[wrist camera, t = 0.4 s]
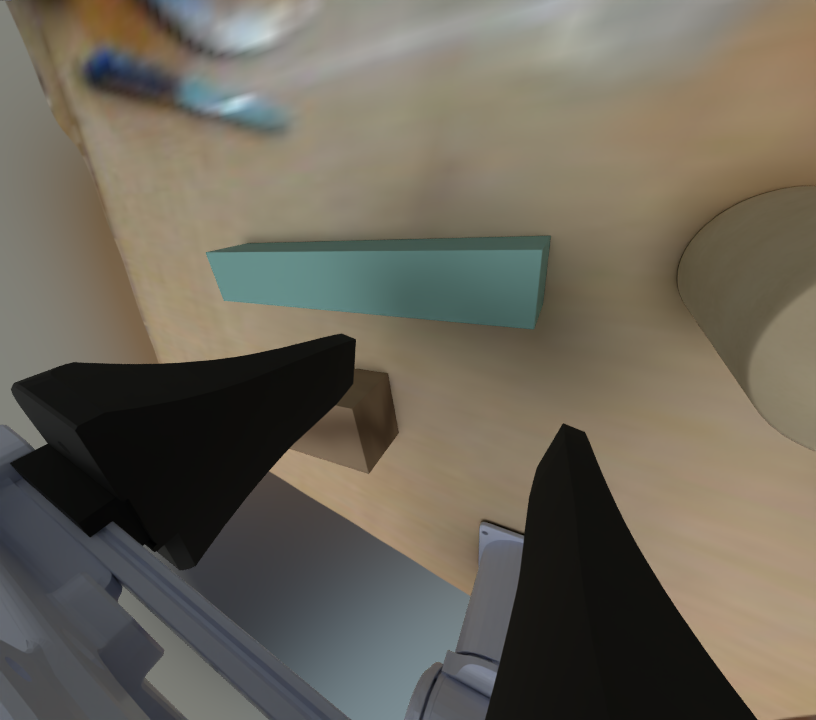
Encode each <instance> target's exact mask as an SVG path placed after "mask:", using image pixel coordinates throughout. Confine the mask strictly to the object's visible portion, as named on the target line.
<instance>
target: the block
mask: <svg viewBox="0 0 816 720" xmlns="http://www.w3.org/2000/svg"><path fill="white" fill-rule="evenodd" d="M398 433H399V432H398V426H397V421H396V415H395V410H394V404H393V399H392V394H391V388H390V383H389V377H388V373H382V372H375V371H368V370H361V369H354V381H353V385H352V386H351V387H350V389H349V390H348V391H347V392H346V394H345V395H344V396H343V397H342V399H341V400H340V401H339V402H338V403H337V404H336V405H335V406H334V407H333V408H332V409H331V410H330V411H329V412H328V413H327V414H326V415H325V416H324V417H323V418H322V419H320V420H319V421H318V422H317V423H316V424H315V425H314V426H313V427H312V428H311V429H310V430H308V431H307V432H306V433H305V434H304V435H303V436H302V437H301V438H300V439H299V440H298V441H297V442H295V443H294V444H293V445H292V446H291V447H290V448H289V449H292V450H295V451H298V452H301V453H304V454H308V455H311V456H314V457H317V458H320V459H323V460H327V461H330V462H333V463H336V464H339V465H342V466H345V467H349V468H352V469H355V470H358V471H361V472H364V473H368V474H369V473H370V472H371V470H372V469H373V467H374V466H375V465H376V463H377V462H378V461H379V459H380V458H381V457H382V455H383V454H384V452H385V451H386V450H387V448H388V447H389V446H390V444H391V443H392V441H393V440H394V439H395V437H396V436H397V435H398Z"/></svg>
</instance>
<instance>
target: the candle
mask: <svg viewBox="0 0 816 720" xmlns="http://www.w3.org/2000/svg"><path fill="white" fill-rule="evenodd" d="M677 281H678V289H679V293H680V296H681V298H682V300H683V302H684V304H685V305H686V307H687V309H688V310H689V312H690V313H691V315H692V316H693V317H694V319H695V320H696V322H697V323H698V325H699V326H700V328H701V329H702V331H703V332H704V334H705V335H706V336H707V338H708V339H709V341H710V342H711V344H712V345H713V347H714V348H715V350H716V351H717V353H718V354H719V356H720V357H721V358H722V360H723V361H724V363H725V364H726V366H727V367H728V369H729V370H730V372H731V373H732V375H733V376H734V377H735V379H736V380H737V382H738V383H739V385H740V386H741V388H742V389H743V391H744V392H745V394H746V395H747V396H748V398H749V399H750V401H751V402H752V404H753V405H754V407H755V408H756V409H757V411H758V412H759V414H760V415H761V416H762V417H763V418H764V419H765V420H766V421H767V422H768V424H769V425H771V426H772V427H773V428H774V429H776V430H777V431H778V432H780V433H781V434H782V435H784V436H786V437H787V438H789V439H791V440H792V441H794V442H796V443H798V444H800V445H802V446H804V447H807V448H809V449H811V450H813V451H816V186H799V187H791V188H785V189H779V190H775V191H771V192H768V193H764V194H761V195H758V196H755V197H752V198H749V199H747V200H745V201H743V202H741V203H738V204H736V205H734V206H733V207H731V208H729V209H727V210H726V211H724V212H723V213H721V214H720V215H718V216H717V217H715V218H714V219H713V220H711V221H710V222H709V223H708V224H707V225H705V226H704V227H703V228H702V229H701V230H700V231H699V232H698V233H697V235H696V236H695V237H694V238H693V239H692V241H691V242H690V243H689V245H688V247H687V248H686V250H685V252H684V254H683V256H682V258H681V261H680V264H679V268H678V275H677Z"/></svg>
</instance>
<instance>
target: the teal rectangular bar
mask: <svg viewBox="0 0 816 720" xmlns="http://www.w3.org/2000/svg"><path fill="white" fill-rule="evenodd" d="M550 239H551V236H519V237H479V238H440V239H401V240H361V241H322V242H283V243H247V244H242V245H237V246H233V247H228V248H224V249H219V250H215V251H210V252H206V255H207V257H208V260H209V263H210V265H211V268H212V271H213V273H214V276H215V278H216V281H217V284H218V286H219V289H220V292H221V294H222V297H223V299H224V301H234V302H245V303H255V304H266V305H277V306H288V307H298V308H309V309H320V310H331V311H341V312H352V313H363V314H374V315H384V316H395V317H406V318H417V319H427V320H438V321H449V322H460V323H471V324H481V325H492V326H503V327H514V328H524V329H534V328H535V325H536V322H537V320H538V317H539V314H540V311H541V308H542V306H543V299H544V291H545V282H546V273H547V265H548V256H549V247H550Z"/></svg>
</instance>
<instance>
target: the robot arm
mask: <svg viewBox="0 0 816 720" xmlns="http://www.w3.org/2000/svg"><path fill="white" fill-rule="evenodd" d="M355 346H356V339H354V338H351V337H349V336H346V335H344V334H337V335H332V336H328V337H323V338H319V339H315V340H311V341H307V342H303V343H299V344H295V345H291V346H287V347H283V348H279V349H274V350H269V351H265V352H260V353H255V354H250V355H245V356H239V357H232V358H225V359H217V360H208V361H196V362H183V363H166V364H103V363H102V364H101V363H77V362H73V363H69V364H65V365H62V366H59V367H56V368H53V369H51V370H48V371H45V372H43V373H40V374H37V375H34V376H32V377H29V378H26V379H24V380H21V381H18V382H15V383H14V384H13V386H12V388H11V391H12V393H13V396H14V397H15V399H16V401H17V402H18V404H19V405H20V407H21V408H22V409H23V411H24V412H25V414H26V415H27V416H28V418H29V419H30V420H31V422H32V423H33V424H34V426H35V427H36V428H37V430H38V431H39V432H40V434H41V435H42V436H43V438H44V439H45V440H46V442H47V443H48V444H46V445H44V446H42V447H40V448H38V449H36V450H35V449H34V448H33V447H32V446H31V445H30V444H29V443H28V442H27V441H26V440H24V439H23V438H22V437H21V436H20V435H18V434H17V433H16V432H15V431H13V430H12V429H11V428H10V427H8V426H7V425H0V720H187V718H186V717H185V716H183V714H182V713H180V712H179V711H178V710H177V709H176V708H175V707H174V706H173V705H172V704H171V703H170V702H169V701H168V700H167V699H166V698H165V697H164V696H163V695H162V694H161V693H160V692H159V691H158V690H157V689H156V688H155V687H154V686H153V685H152V684H151V683H150V682H149V681H148V680H147V679H146V678H145V676H146V674H147V673H148V672H149V671H150V669H151V668H152V667H153V666H154V665H155V664H156V663H157V662H158V661H159V659H160V658H161V657H162V656H163V654H164V649H163V648H162V647H161V646H160V645H159V644H158V643H157V642H156V641H155V640H154V639H153V638H152V637H151V636H150V635H149V634H148V633H147V632H146V631H145V630H144V629H143V628H142V627H141V626H140V625H139V624H138V623H137V622H136V620H135V619H134V618H133V617H132V616H131V615H130V614H129V613H128V612H127V611H125V609H123V607H122V606H120V605H119V604H118V598H119V596H120V594H121V592H122V585H123V586H124V587H125V588H126V589H127V590H128V591H129V592H130V593H131V594H132V595H134V596H135V597H136V598H137V599H138V600H139V601H140V602H141V603H142V604H143V605H144V606H145V607H147V608H148V609H149V610H150V611H151V612H152V613H153V614H155V616H156V617H157V618H159V619H160V620H161V621H162V622H163V623H164V624H165V625H166V626H167V627H168V628H170V629H171V630H172V631H173V632H174V633H175V634H176V635H177V636H178V637H179V638H180V639H182V640H183V641H184V642H185V643H186V644H187V645H188V646H189V647H190V648H191V649H192V650H194V651H195V652H196V653H197V654H198V655H199V656H200V657H201V658H202V659H203V660H204V661H205V662H207V663H208V664H209V665H210V666H211V667H212V668H213V669H214V670H215V671H216V672H217V673H219V674H220V675H221V676H222V677H223V678H224V679H225V680H226V681H227V682H228V683H229V684H231V685H232V686H233V687H234V688H235V689H236V690H237V691H238V692H239V693H241V694H242V695H243V696H244V697H245V698H246V699H247V700H248V701H249V702H250V703H251V704H252V705H254V706H255V707H256V708H257V709H258V710H259V711H260V712H261V713H262V714H263V715H264V716H265V717H267V718H268V719H269V720H351V719H350V718H348V717H347V716H346V715H345V714H344V713H342V712H341V711H340V710H339V709H338V708H336V707H335V706H334V705H333V704H332V703H330V702H329V701H328V700H327V699H326V698H324V697H323V696H322V695H321V694H319V693H318V692H317V691H316V690H315V689H314V688H312V687H311V686H310V685H309V684H307V683H306V682H305V681H304V680H303V679H301V678H300V677H299V676H298V675H296V674H295V673H294V672H293V671H292V670H291V669H290V668H288V667H287V666H286V665H285V664H284V663H282V662H281V661H280V660H279V659H277V658H276V657H275V656H274V655H273V654H272V653H270V652H269V651H268V650H267V649H265V648H264V647H263V646H262V645H261V644H260V643H258V642H257V641H256V640H255V639H254V638H252V637H251V636H250V635H249V634H248V633H246V632H245V631H244V630H243V629H242V628H240V627H239V626H238V625H237V624H236V623H234V622H233V621H232V620H231V619H230V618H228V617H227V616H226V615H225V614H223V613H222V612H221V611H220V610H219V609H217V608H216V607H215V606H214V605H212V604H211V603H210V602H209V601H208V600H207V599H205V598H204V597H203V596H202V595H201V594H199V593H198V592H197V591H196V590H195V589H193V588H192V587H191V586H190V585H189V584H187V583H186V582H185V581H184V580H183V579H181V578H180V577H179V576H178V575H177V574H175V573H174V572H173V571H172V570H171V569H169V568H168V567H167V566H166V565H165V564H163V563H162V562H161V561H160V560H159V559H157V558H156V557H155V556H154V555H153V554H151V553H150V552H149V551H148V550H147V549H145V548H144V547H143V545H144V544H145V545H146V546H148V547H149V548H150V549H151V550H152V551H154V552H156V551H157V552H158V553H159V554H161V555H162V556H163V557H164V558H165V559H167V560H168V561H169V562H170V563H172V564H173V565H174V566H175V567H176V568H178V569H179V570H186V569H189V568H192V567H194V566H196V565H197V563H198V562H199V560H200V559H201V558H202V556H203V555H204V553H205V552H206V551H207V549H208V548H209V546H210V545H211V544H212V542H213V541H214V539H215V538H216V537H217V535H218V534H219V533H220V531H221V530H222V528H223V527H224V526H225V524H226V523H227V522H228V521H229V519H230V518H231V517H232V516H233V514H234V513H235V512H236V510H237V509H238V508H239V507H240V505H241V504H242V503H243V501H244V500H245V499H246V497H247V496H248V495H249V494H250V493H251V492H252V490H253V489H254V488H255V487H256V486H257V484H258V483H259V482H260V481H261V480H262V478H263V477H264V476H265V475H266V474H267V472H268V471H269V470H270V469H271V468H272V467H273V466H274V465H275V463H276V462H277V461H278V460H279V459H280V458H281V457H282V456H283V454H284V453H285V452H286V451H287V450H288V449H289V448H290V447H291V446H292V445H293V444H294V443H295V442H297V441H298V440H299V439H300V438H301V437H302V436H303V435H304V434H305V433H306V432H307V431H308V430H310V429H311V428H312V427H313V426H314V425H315V424H316V423H317V422H318V421H319V420H320V419H322V418H323V417H324V416H325V415H326V414H327V413H328V412H329V411H330V410H331V409H332V408H333V407H334V406H335V405H336V404H337V403H338V402H339V401H340V400H341V399H342V397H343V396H344V395H345V394H346V392H347V391H348V390H349V389H350V387H351V386H352V385H353V381H354V364H355ZM404 720H757V718H756V717H755V716H754V714H753V713H752V712H751V711H750V709H749V708H748V707H747V705H746V704H745V703H744V701H743V700H742V699H741V697H740V696H739V695H738V694H737V692H736V691H735V690H734V688H733V687H732V686H731V684H730V683H729V682H728V680H727V679H726V678H725V676H724V675H723V674H722V672H721V671H720V670H719V668H718V667H717V665H716V664H715V663H714V661H713V660H712V659H711V657H710V656H709V655H708V653H707V652H706V650H705V649H704V648H703V646H702V645H701V643H700V642H699V640H698V639H697V637H696V636H695V635H694V633H693V632H692V630H691V629H690V627H689V626H688V624H687V623H686V622H685V620H684V619H683V617H682V616H681V614H680V613H679V612H678V610H677V609H676V607H675V605H674V604H673V602H672V601H671V599H670V598H669V596H668V595H667V593H666V592H665V590H664V589H663V587H662V585H661V584H660V582H659V580H658V579H657V577H656V576H655V574H654V572H653V571H652V569H651V567H650V566H649V564H648V563H647V561H646V559H645V558H644V556H643V554H642V552H641V551H640V549H639V547H638V546H637V544H636V542H635V540H634V538H633V536H632V535H631V533H630V531H629V529H628V527H627V525H626V523H625V521H624V519H623V517H622V515H621V513H620V511H619V509H618V507H617V505H616V503H615V501H614V499H613V497H612V494H611V492H610V490H609V488H608V486H607V484H606V481H605V479H604V477H603V474H602V472H601V470H600V467H599V465H598V462H597V460H596V457H595V455H594V452H593V450H592V447H591V445H590V442H589V440H588V438H587V435H586V433H585V432H583V431H581V430H578V429H576V428H573V427H571V426H568V425H566V424H562V426H561V428H560V429H559V431H558V433H557V434H556V436H555V438H554V440H553V441H552V443H551V445H550V446H549V448H548V450H547V451H546V453H545V455H544V456H543V458H542V460H541V461H540V463H539V465H538V467H537V469H536V473H535V477H534V480H533V484H532V488H531V492H530V496H529V503H528V510H527V518H526V526H525V534H524V536H523V535H520V534H518V533H515V532H512V531H509V530H506V529H504V528H501V527H498V526H495V525H493V524H490V523H487V522H481V524H480V530H479V569H478V572H477V576H476V579H475V583H474V586H473V590H472V594H471V597H470V601H469V604H468V608H467V611H466V615H465V619H464V622H463V626H462V629H461V633H460V636H459V640H458V643H457V647H456V651H455V653H454V652H452V651H450V650H448V651H447V654H446V657H445V660H444V664H442V663H440V662H436V663H434V664H433V665H432V666H431V667H430V668H429V669H427V670H426V671H425V672H424V673H423V674H422V676H421V677H420V679H419V681H418V683H417V685H416V688H415V689H414V692H413V695H412V697H411V700H410V703H409V705H408V709H407V712H406V715H405V719H404Z"/></svg>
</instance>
